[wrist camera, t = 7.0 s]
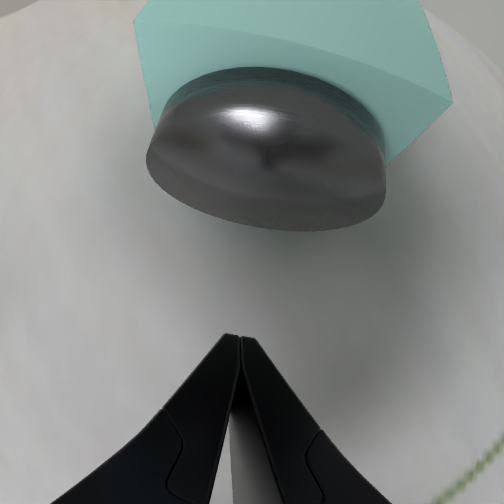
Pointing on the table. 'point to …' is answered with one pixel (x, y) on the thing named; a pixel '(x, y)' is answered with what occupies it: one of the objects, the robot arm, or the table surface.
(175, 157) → the plunger
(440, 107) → the block
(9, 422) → the table surface
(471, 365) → the table surface
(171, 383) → the table surface
